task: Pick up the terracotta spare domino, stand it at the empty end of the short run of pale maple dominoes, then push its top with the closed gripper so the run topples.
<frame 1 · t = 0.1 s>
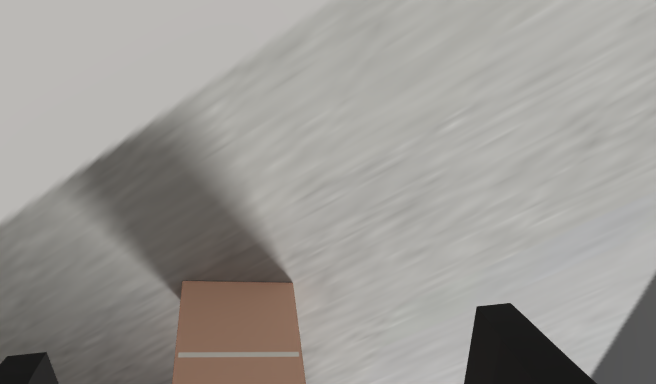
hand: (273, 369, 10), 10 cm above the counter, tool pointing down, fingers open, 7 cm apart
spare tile: (237, 292, 22), on the counter
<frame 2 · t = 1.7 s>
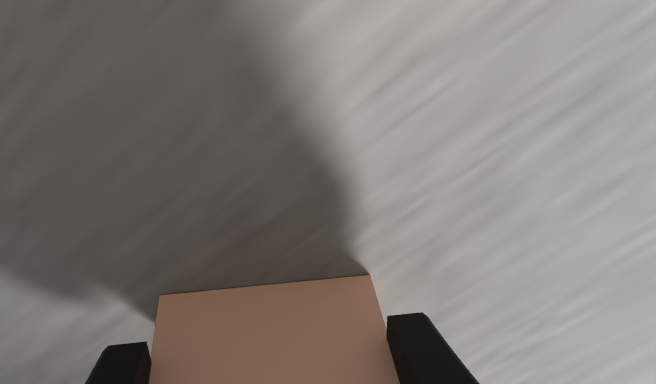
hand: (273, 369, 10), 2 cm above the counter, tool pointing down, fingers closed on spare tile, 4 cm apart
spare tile: (268, 304, 12), on the counter, touching gripper
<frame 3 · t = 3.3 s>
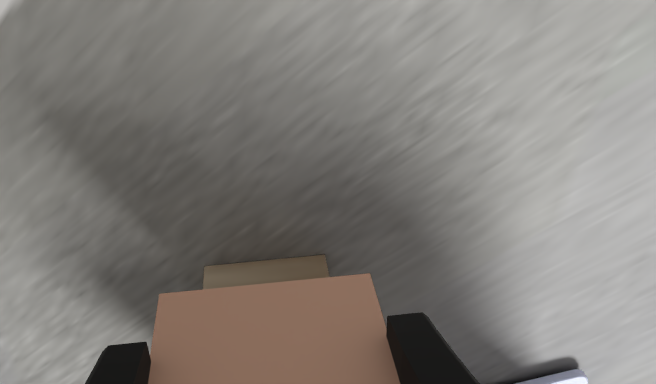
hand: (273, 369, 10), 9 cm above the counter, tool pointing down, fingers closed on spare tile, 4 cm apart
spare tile: (268, 302, 12), point 7 cm above the counter, touching gripper
tile 2: (266, 271, 20), on the counter
when the fingers open (2 cm above the counter, at t = 5.2 s): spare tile stays where it is, on the counter.
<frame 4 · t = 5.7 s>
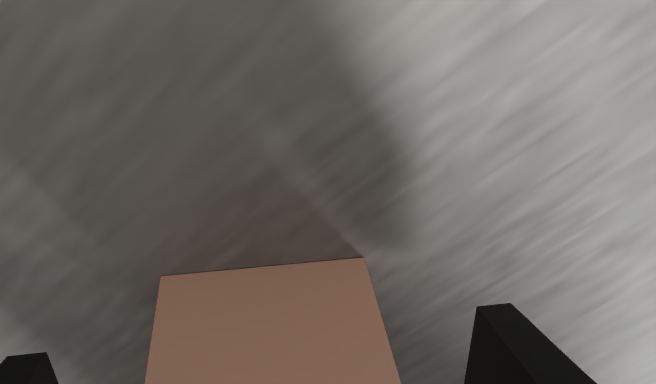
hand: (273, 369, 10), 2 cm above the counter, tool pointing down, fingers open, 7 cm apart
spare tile: (265, 285, 12), on the counter
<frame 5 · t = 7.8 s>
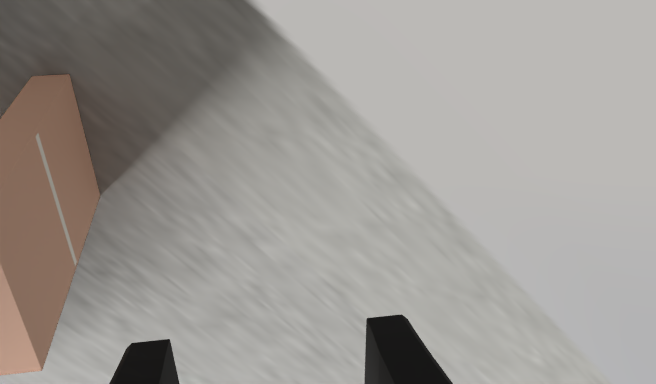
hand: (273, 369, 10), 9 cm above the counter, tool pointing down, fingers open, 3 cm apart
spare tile: (68, 139, 18), on the counter
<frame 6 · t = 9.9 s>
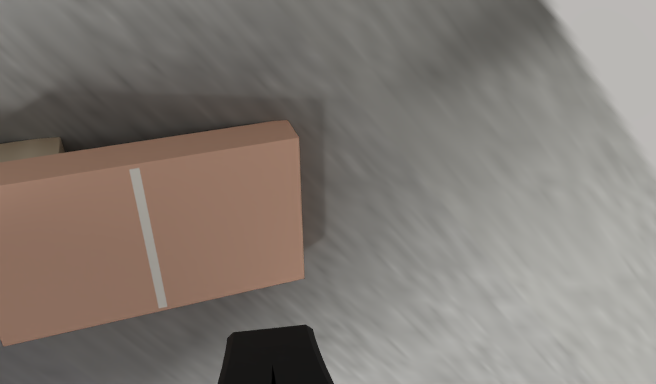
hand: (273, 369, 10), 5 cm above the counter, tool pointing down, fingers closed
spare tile: (296, 202, 15), on the counter, tilted 79°, touching tile 2
tile 2: (81, 220, 14), on the counter, tilted 80°, touching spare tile, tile
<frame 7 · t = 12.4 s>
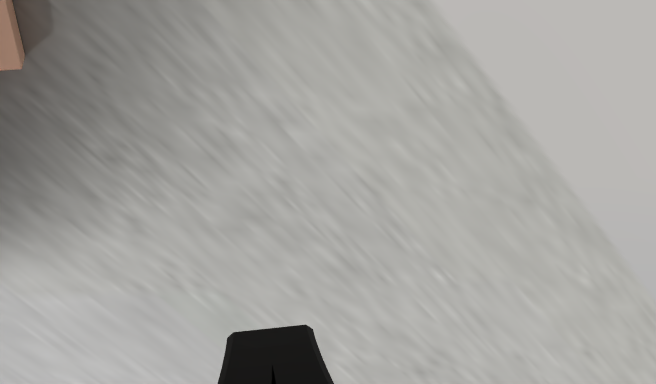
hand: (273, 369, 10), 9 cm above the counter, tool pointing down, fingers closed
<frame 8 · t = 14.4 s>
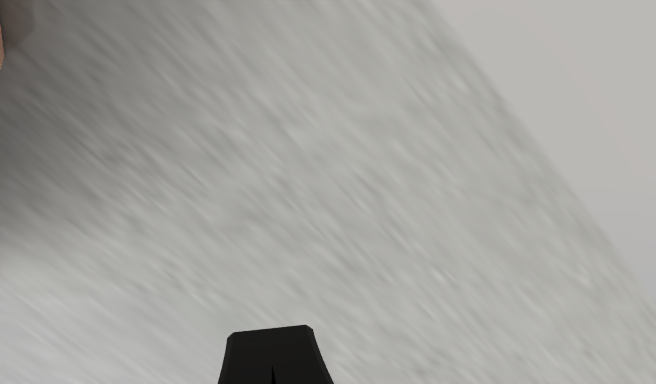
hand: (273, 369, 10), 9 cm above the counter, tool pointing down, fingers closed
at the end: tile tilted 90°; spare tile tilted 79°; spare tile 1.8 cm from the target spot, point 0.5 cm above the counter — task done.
